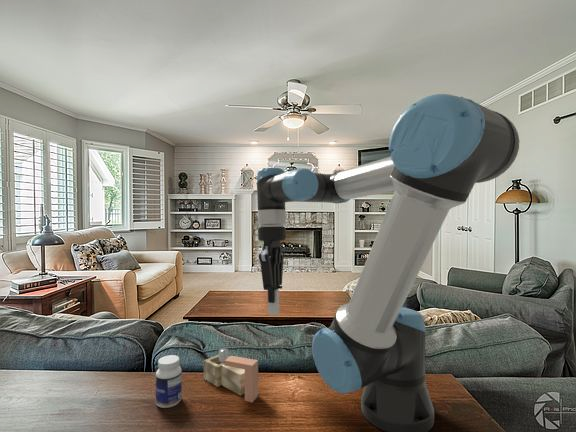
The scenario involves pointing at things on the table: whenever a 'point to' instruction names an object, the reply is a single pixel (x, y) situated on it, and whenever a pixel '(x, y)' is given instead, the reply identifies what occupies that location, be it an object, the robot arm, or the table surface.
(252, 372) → the keeper
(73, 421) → the table surface
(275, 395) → the table surface
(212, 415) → the table surface
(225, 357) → the cylinder
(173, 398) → the pill bottle
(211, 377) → the link
